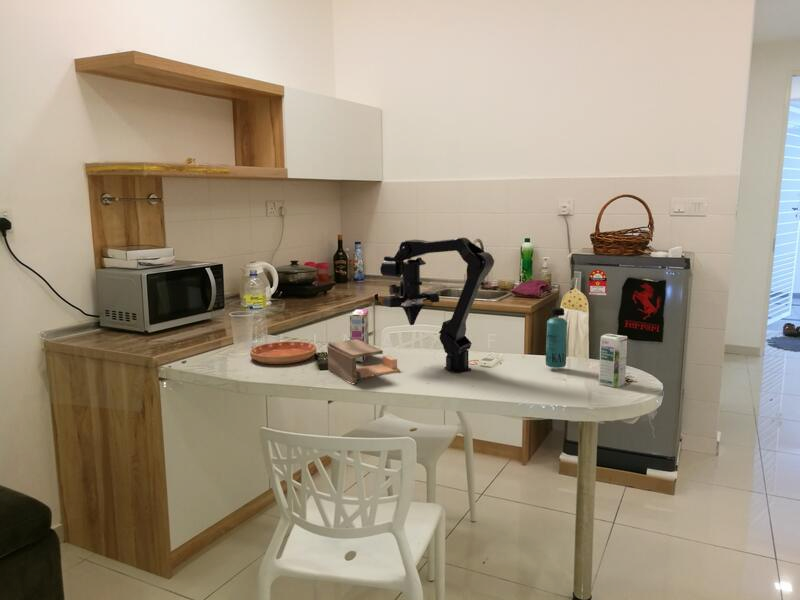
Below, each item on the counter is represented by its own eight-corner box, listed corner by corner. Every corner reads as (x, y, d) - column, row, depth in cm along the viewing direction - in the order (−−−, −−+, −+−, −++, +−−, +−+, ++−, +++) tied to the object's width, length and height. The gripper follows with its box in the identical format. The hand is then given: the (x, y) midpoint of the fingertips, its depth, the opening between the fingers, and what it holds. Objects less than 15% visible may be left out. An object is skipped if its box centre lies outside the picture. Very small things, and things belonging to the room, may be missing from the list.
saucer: (237, 359, 219) (236, 349, 218) (289, 347, 236) (289, 337, 235) (277, 370, 204) (276, 359, 203) (330, 356, 221) (329, 346, 220)
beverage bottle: (548, 365, 203) (550, 305, 200) (569, 368, 200) (570, 307, 197) (542, 370, 198) (543, 308, 195) (563, 373, 195) (564, 310, 191)
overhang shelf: (357, 365, 207) (356, 339, 206) (383, 378, 192) (382, 350, 191) (328, 370, 202) (327, 343, 201) (352, 384, 187) (351, 355, 185)
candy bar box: (365, 362, 211) (363, 315, 208) (350, 362, 212) (348, 315, 209) (369, 354, 222) (368, 309, 219) (355, 354, 222) (354, 308, 220)
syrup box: (597, 384, 183) (599, 335, 181) (607, 379, 187) (609, 332, 185) (616, 388, 179) (618, 338, 177) (625, 383, 183) (628, 335, 181)
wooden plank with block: (385, 366, 208) (385, 354, 207) (399, 372, 200) (399, 360, 199) (347, 372, 201) (347, 360, 200) (360, 379, 193) (359, 366, 193)
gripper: (422, 273, 216) (422, 317, 219) (374, 277, 207) (375, 324, 210) (440, 277, 207) (440, 323, 210) (390, 281, 198) (391, 330, 200)
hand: (411, 324), depth 208 cm, fingers closed
